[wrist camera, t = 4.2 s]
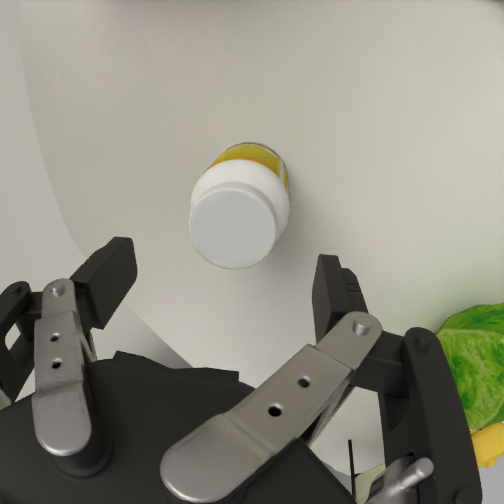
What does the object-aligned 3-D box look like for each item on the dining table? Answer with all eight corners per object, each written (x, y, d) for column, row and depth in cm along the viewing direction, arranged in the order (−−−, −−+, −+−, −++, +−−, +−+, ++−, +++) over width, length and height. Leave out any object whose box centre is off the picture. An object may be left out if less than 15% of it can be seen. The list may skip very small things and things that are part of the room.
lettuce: (378, 382, 37) (441, 456, 28) (429, 348, 20) (520, 465, 11) (449, 309, 40) (506, 376, 31) (510, 238, 23) (586, 335, 14)
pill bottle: (200, 166, 25) (150, 215, 15) (260, 126, 23) (245, 147, 13) (241, 222, 27) (219, 297, 17) (300, 187, 25) (313, 249, 15)
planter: (346, 424, 43) (354, 542, 23) (430, 403, 40) (456, 514, 20) (348, 452, 50) (353, 544, 30) (418, 436, 47) (433, 525, 27)
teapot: (450, 436, 49) (460, 477, 38) (513, 405, 43) (527, 441, 33) (443, 452, 54) (451, 487, 43) (501, 425, 49) (511, 458, 38)
